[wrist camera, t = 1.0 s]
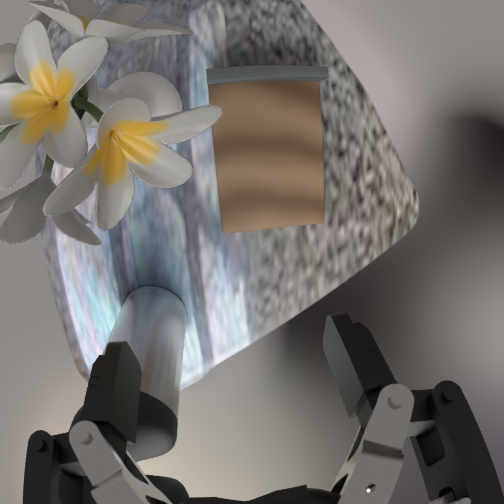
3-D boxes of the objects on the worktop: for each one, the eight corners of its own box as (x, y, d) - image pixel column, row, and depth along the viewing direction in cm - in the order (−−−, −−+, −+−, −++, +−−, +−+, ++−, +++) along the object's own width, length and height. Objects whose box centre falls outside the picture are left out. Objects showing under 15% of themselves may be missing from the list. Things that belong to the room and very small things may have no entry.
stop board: (319, 219, 35) (332, 231, 31) (222, 229, 34) (223, 243, 30) (313, 73, 28) (327, 66, 24) (207, 77, 27) (206, 69, 23)
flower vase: (77, 70, 24) (-85, 35, 1) (228, 69, 27) (261, -71, 4) (67, 172, 29) (-93, 258, 6) (212, 180, 32) (201, 314, 9)
